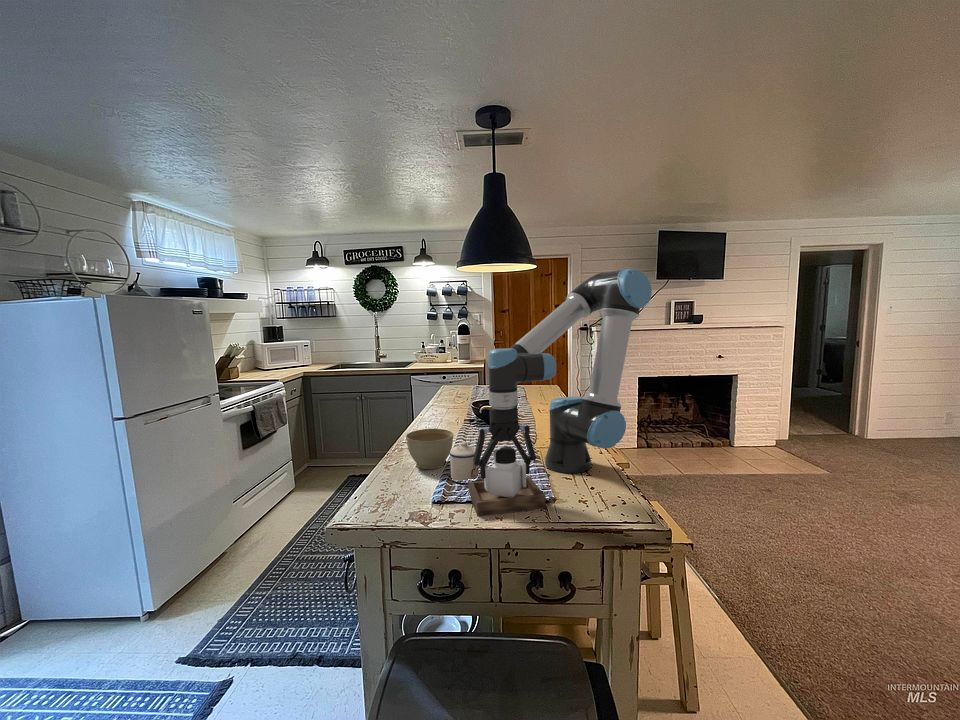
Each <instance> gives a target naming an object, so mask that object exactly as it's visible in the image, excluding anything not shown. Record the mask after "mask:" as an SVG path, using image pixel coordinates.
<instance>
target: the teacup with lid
mask: <svg viewBox="0 0 960 720" xmlns="http://www.w3.org/2000/svg"><path fill="white" fill-rule="evenodd" d="M475 450H476V447H474V446H471V445H470V444H468V443H467V442H466V441H462V442H460V444H459V445H457V446H456V447H453V448H451V450H450V453H449V457H450V462H449V463H450V479H451V478H452V479H454V480H468V479H473V478H475V477H477V476H478V474H479V466H478V465H477V466H476V465H475V464H474V462H473V459H474V454H475Z"/></svg>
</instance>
